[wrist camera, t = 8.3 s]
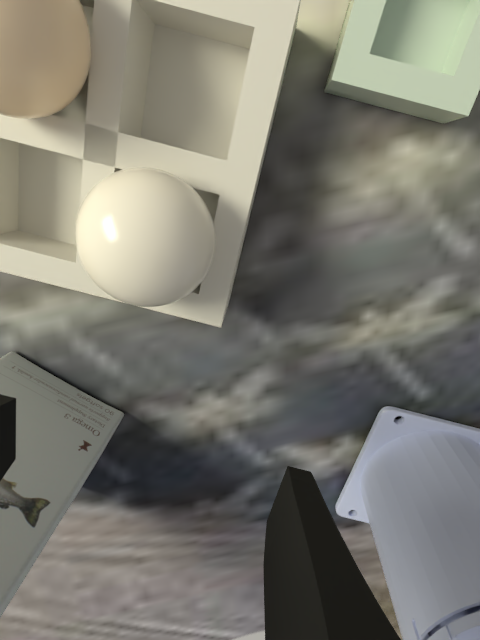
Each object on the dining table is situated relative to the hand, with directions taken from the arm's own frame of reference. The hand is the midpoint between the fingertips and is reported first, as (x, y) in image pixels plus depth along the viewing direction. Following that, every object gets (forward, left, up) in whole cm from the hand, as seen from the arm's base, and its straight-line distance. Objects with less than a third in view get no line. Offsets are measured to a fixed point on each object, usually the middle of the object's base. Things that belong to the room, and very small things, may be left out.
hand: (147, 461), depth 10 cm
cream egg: (+2, -4, -6) cm, 8 cm away
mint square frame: (-5, -14, -10) cm, 17 cm away
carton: (+5, -7, -10) cm, 13 cm away
